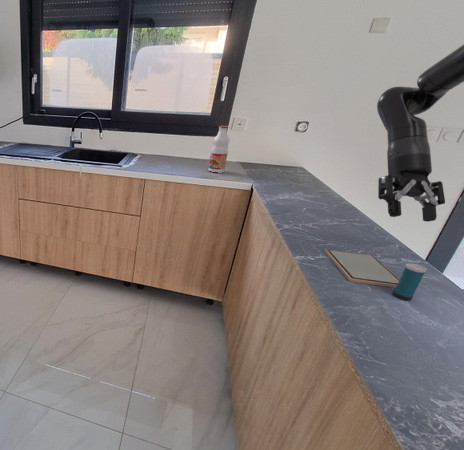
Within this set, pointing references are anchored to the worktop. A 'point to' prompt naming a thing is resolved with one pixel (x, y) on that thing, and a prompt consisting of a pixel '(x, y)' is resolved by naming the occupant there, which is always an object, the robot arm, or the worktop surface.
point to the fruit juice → (219, 151)
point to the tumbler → (409, 281)
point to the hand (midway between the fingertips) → (412, 218)
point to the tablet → (363, 268)
